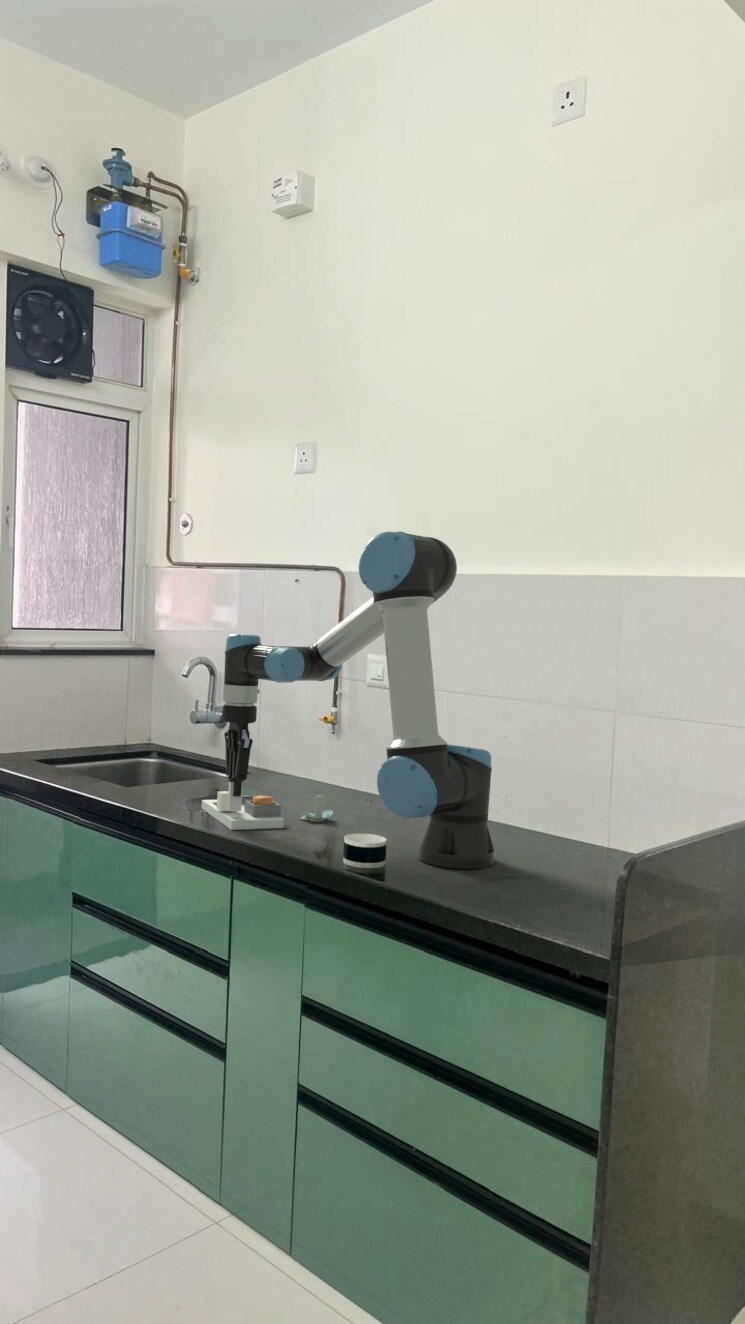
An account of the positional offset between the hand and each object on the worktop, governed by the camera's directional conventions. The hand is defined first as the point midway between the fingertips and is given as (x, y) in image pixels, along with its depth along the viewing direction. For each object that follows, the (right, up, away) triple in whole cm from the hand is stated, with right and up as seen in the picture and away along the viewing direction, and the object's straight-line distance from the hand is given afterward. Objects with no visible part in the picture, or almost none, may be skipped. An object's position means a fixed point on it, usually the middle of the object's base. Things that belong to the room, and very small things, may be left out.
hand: (234, 810), depth 223 cm
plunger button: (+6, -1, +4) cm, 7 cm away
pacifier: (+17, -4, +11) cm, 21 cm away
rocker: (0, +2, +16) cm, 16 cm away
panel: (0, -3, +9) cm, 9 cm away
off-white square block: (-2, -1, +5) cm, 5 cm away
